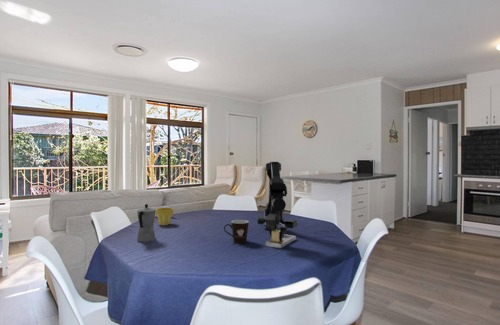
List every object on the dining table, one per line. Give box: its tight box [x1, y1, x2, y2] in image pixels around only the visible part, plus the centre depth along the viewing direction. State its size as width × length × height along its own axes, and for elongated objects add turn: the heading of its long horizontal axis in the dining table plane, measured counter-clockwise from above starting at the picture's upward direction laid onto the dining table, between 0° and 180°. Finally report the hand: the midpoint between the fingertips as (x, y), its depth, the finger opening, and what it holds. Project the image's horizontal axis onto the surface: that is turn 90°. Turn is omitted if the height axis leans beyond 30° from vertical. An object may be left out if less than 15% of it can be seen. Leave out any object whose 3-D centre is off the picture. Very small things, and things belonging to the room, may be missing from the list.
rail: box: [265, 233, 297, 249], centre depth 144 cm, size 8×18×2 cm, turn 149°
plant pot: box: [155, 207, 174, 226], centre depth 183 cm, size 10×10×10 cm
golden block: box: [271, 229, 283, 243], centre depth 140 cm, size 4×4×6 cm
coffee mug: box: [223, 219, 249, 244], centre depth 146 cm, size 12×9×10 cm
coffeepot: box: [136, 203, 156, 243], centre depth 147 cm, size 15×9×18 cm, turn 179°
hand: (276, 240), depth 140 cm, fingers closed on golden block, 4 cm apart
